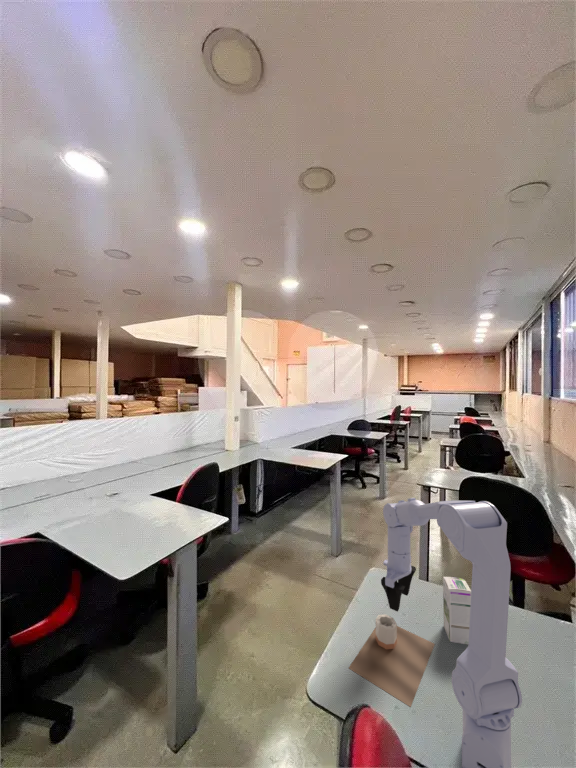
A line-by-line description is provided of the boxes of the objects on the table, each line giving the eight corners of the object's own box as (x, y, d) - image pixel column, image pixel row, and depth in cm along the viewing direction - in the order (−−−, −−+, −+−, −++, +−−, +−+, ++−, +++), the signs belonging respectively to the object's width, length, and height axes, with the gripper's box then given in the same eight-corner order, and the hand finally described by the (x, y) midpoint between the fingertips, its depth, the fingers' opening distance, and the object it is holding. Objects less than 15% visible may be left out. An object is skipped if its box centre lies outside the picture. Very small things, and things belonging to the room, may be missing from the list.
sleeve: (392, 652, 75) (392, 631, 76) (373, 642, 78) (373, 622, 79) (398, 640, 79) (398, 620, 79) (380, 630, 82) (380, 612, 82)
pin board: (410, 712, 62) (410, 684, 62) (348, 672, 71) (348, 648, 71) (434, 647, 78) (434, 626, 78) (381, 621, 87) (381, 602, 87)
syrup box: (474, 649, 78) (473, 591, 78) (449, 645, 79) (448, 588, 79) (466, 632, 83) (465, 578, 84) (442, 628, 84) (442, 575, 85)
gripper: (393, 534, 89) (393, 581, 89) (373, 555, 78) (373, 609, 78) (418, 542, 85) (419, 591, 85) (401, 565, 74) (401, 622, 73)
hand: (399, 601), depth 81 cm, fingers open, 7 cm apart
